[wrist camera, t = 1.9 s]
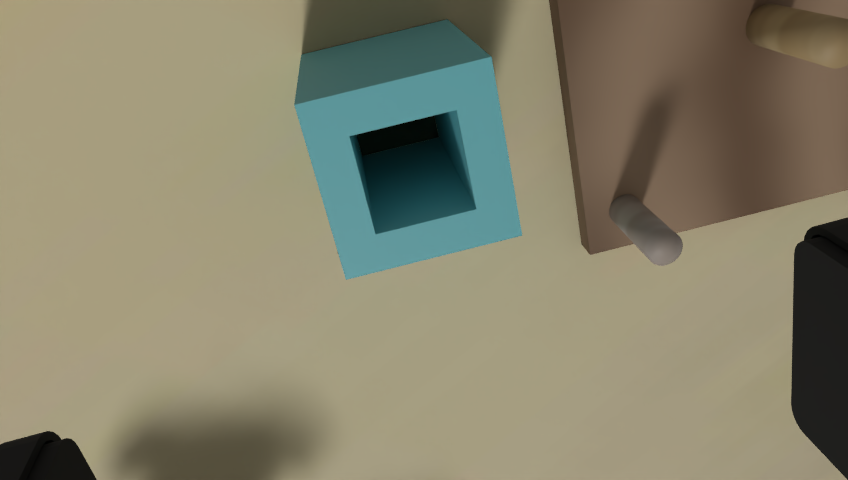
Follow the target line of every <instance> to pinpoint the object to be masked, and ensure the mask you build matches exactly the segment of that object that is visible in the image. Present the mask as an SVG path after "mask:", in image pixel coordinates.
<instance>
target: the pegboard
mask: <svg viewBox="0 0 848 480" xmlns="http://www.w3.org/2000/svg"><path fill="white" fill-rule="evenodd" d="M549 3H550V10H551V18H552V25H553V33H554V40H555V48H556V55H557V63H558V70H559V78H560V85H561V93H562V100H563V108H564V115H565V123H566V130H567V138H568V145H569V153H570V160H571V168H572V175H573V183H574V190H575V198H576V205H577V213H578V220H579V228H580V235H581V243H582V245H583V246H584V248H585V249H586V250H587V251H588V253H589V254H590V255H591V254H595V253H599V252H603V251H607V250H611V249H615V248H619V247H623V246H627V245H631V244H635V245H636V246H637V247H638V248H639V249H640V250H641V251H642V252H643V254H644V255H645V256H646V257H647V258H648V259H649V260H650V261H651V262H652V263H654V264H656V265H667V264H670V263H672V262H673V261H675V260H676V259H677V258H678V257H679V255H680V254H681V251H682V247H683V244H682V240H681V238H680V237H679V236H678V235H677V234H676V233H678V232H682V231H686V230H690V229H694V228H698V227H702V226H706V225H710V224H714V223H718V222H722V221H726V220H730V219H734V218H738V217H742V216H746V215H750V214H754V213H758V212H762V211H765V210H769V209H773V208H777V207H781V206H785V205H789V204H793V203H797V202H801V201H805V200H809V199H813V198H817V197H821V196H825V195H829V194H833V193H837V192H841V191H845V190H848V0H549Z"/></svg>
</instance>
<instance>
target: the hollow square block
mask: <svg viewBox="0 0 848 480" xmlns="http://www.w3.org/2000/svg"><path fill="white" fill-rule="evenodd" d="M294 105H295V109H296V112H297V115H298V119H299V122H300V125H301V129H302V132H303V136H304V139H305V142H306V146H307V149H308V152H309V156H310V159H311V163H312V166H313V169H314V173H315V176H316V180H317V183H318V186H319V190H320V193H321V196H322V200H323V203H324V207H325V210H326V213H327V217H328V220H329V223H330V227H331V230H332V234H333V237H334V240H335V244H336V247H337V251H338V254H339V257H340V261H341V264H342V267H343V271H344V274H345V278H346V280H347V279H351V278H355V277H359V276H363V275H367V274H371V273H375V272H379V271H383V270H387V269H391V268H395V267H398V266H402V265H406V264H410V263H414V262H418V261H422V260H426V259H430V258H434V257H438V256H442V255H446V254H450V253H454V252H458V251H462V250H466V249H470V248H474V247H478V246H482V245H486V244H490V243H494V242H498V241H502V240H506V239H510V238H514V237H518V236H522V232H521V226H520V220H519V215H518V209H517V203H516V197H515V191H514V185H513V180H512V174H511V168H510V162H509V156H508V150H507V145H506V139H505V133H504V127H503V121H502V115H501V110H500V104H499V98H498V92H497V86H496V81H495V75H494V69H493V63H492V57H491V56H490V55H489V54H488V53H486V52H485V51H484V50H483V49H482V48H480V47H479V46H478V45H477V44H476V43H475V42H473V41H472V40H471V39H470V38H469V37H468V36H466V35H465V34H464V33H463V32H462V31H460V30H459V29H458V28H457V27H456V26H455V25H453V24H452V23H451V22H450V21H449V20H448V19H447V20H442V21H438V22H434V23H430V24H426V25H422V26H418V27H413V28H409V29H405V30H401V31H397V32H393V33H389V34H385V35H380V36H376V37H372V38H368V39H364V40H360V41H356V42H351V43H347V44H343V45H339V46H335V47H331V48H327V49H323V50H318V51H314V52H310V53H306V54H302V55H301V61H300V69H299V76H298V83H297V90H296V97H295V104H294ZM430 116H434V117H435V122H436V127H437V131H438V136H439V137H437V138H433V139H429V140H425V141H421V142H417V143H413V144H408V145H404V146H400V147H396V148H392V149H388V150H384V151H380V152H376V153H372V154H368V155H364V156H362V153H361V149H360V145H359V141H358V137H357V134H361V133H365V132H369V131H373V130H377V129H381V128H385V127H389V126H393V125H397V124H402V123H406V122H410V121H414V120H418V119H422V118H426V117H430Z"/></svg>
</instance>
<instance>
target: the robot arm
mask: <svg viewBox="0 0 848 480" xmlns="http://www.w3.org/2000/svg"><path fill="white" fill-rule="evenodd" d="M791 405H792V411H793V415H794V418H795V420H796V422H797V424H798V426H799V428H800V429H801V430H802V432H803V433H804V434H805V435H806V436H807V437H808V438H809V439H810V440H811V441H812V443H813V444H814V445H815V446H816V447H817V448H818V449H819V450H820V451H821V452H822V453H823V454H824V455H825V456H826V457H827V458H828V459H829V461H830V462H831V463H832V464H833V465H834V466H835V467H836V468H837V469H838V470H839V471H840V472H841V473H842V474H843V475H844V476H845V477H846V478H847V480H848V218H844V219H840V220H837V221H833V222H829V223H825V224H822V225H818V226H814V227H812V228H810V229H809V230H808V231H807V233H806V235H805V237H804V241H802V242H800V243H798V244H797V246H796V248H795V253H794V292H793V343H792V395H791ZM0 480H96V478H95V476H94V474H93V472H92V471H91V469H90V467H89V465H88V463H87V462H86V460H85V458H84V456H83V454H82V453H81V451H80V449H79V447H78V446H77V444H76V443H75V442H74V441H73V440H72V439H67V438H66V439H63V440H61V438H60V437H59V436H58V435H57V434H55V433H54V432H50V431H47V432H43V433H39V434H35V435H32V436H28V437H24V438H20V439H17V440H13V441H9V442H5V443H3V444H1V445H0Z"/></svg>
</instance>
